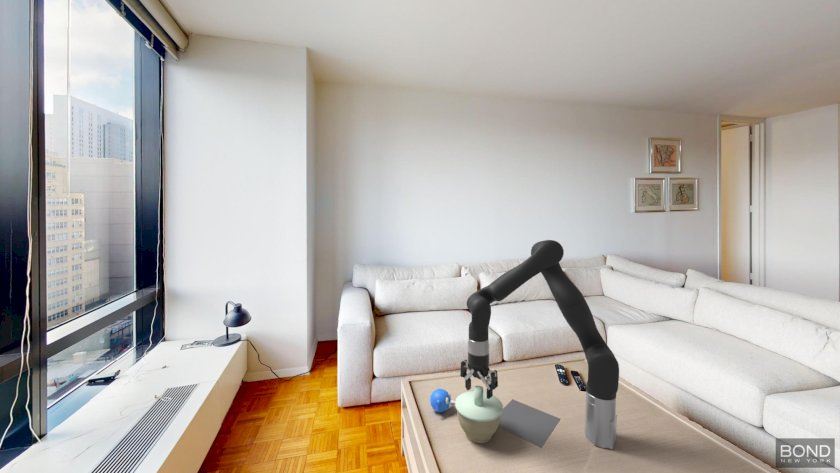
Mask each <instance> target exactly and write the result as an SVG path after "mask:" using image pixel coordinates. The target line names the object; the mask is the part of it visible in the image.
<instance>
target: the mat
mask: <svg viewBox="0 0 840 473" xmlns="http://www.w3.org/2000/svg"><path fill="white" fill-rule="evenodd" d="M560 421H561V418H560V417H557V416H555V415H553V414H550V413H547V412H545V411H543V410H540V409H537V408H535V407H532V406H530V405H528V404H525V403H523V402H520V401H518V400H515V399H511V400H510V401H508V403H507V404H506V405H505V406H503V412H502V414H501V416H500V422H499V425H498V428H500V429H502V430H504V431H506V432H507V433H510V434H512V435H514V436H516V437H518V438H520V439H523V440H525V441H527V442H529V443H531V444H533V445H534V446H537V447H538V448H542V447H543V446H544V445H545V443H546V441H547V440H548V438H549V437H550V435H551V434H552V432H553V431H554V430H555V428H556V427H557V426H558V423H559V422H560Z"/></svg>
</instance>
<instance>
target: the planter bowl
mask: <svg viewBox="0 0 840 473" xmlns="http://www.w3.org/2000/svg"><path fill="white" fill-rule="evenodd" d="M456 413H457V420H458V422H459V425H460V427H461V429H462V430H463V432H464V434H465V437H466V438H467V439H468V440H469V441H471V442H472V443H476V444H484V443H487V442H490V440H491V439H492V437H493V435H494V434H495V433H496V431H497V430H498V428H499V427H498V425H499V422H500V417H499V418H497V419H495V420H493V421H488V422H477V421H472V420H469V419H467V418H465V417H463V416H462V415H460V414H459V413H458V411H457V410H456Z"/></svg>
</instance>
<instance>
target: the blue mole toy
mask: <svg viewBox="0 0 840 473" xmlns="http://www.w3.org/2000/svg"><path fill="white" fill-rule="evenodd" d="M455 401H456V400H453V399H452V398H451V394H450V393H449V391H447V390H446V389H443V388H437V389H434V390H433V391H432V392H431V395H430V398H429V402H430V406H431V407H432V409H433V410H434V412H435V411H436V413H444V412H446V411H448V409H451V408H452V407H454V406H455Z"/></svg>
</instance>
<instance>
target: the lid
mask: <svg viewBox="0 0 840 473" xmlns="http://www.w3.org/2000/svg"><path fill="white" fill-rule="evenodd" d="M454 401H455V405H454V406H455V409H456V412H457V411H458V413H459V414H460V415H462V416H463V417H465V418H467V419H469V420H472V421H477V422H488V421H493V420H495V419H497V418H499V417H500V416H501V414H502V412H503V408H504V405H503V402H502V401H501V399H499V398H498V397H497V396H496V395H494V394H493V396H492V397H491V398H490V399H487V391H484V387H483V386H482V385H475V386H474V387H473V390H467V391H465V392H463V393H461V394H459V395H458V396H457V397H456V398H455V400H454Z"/></svg>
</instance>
